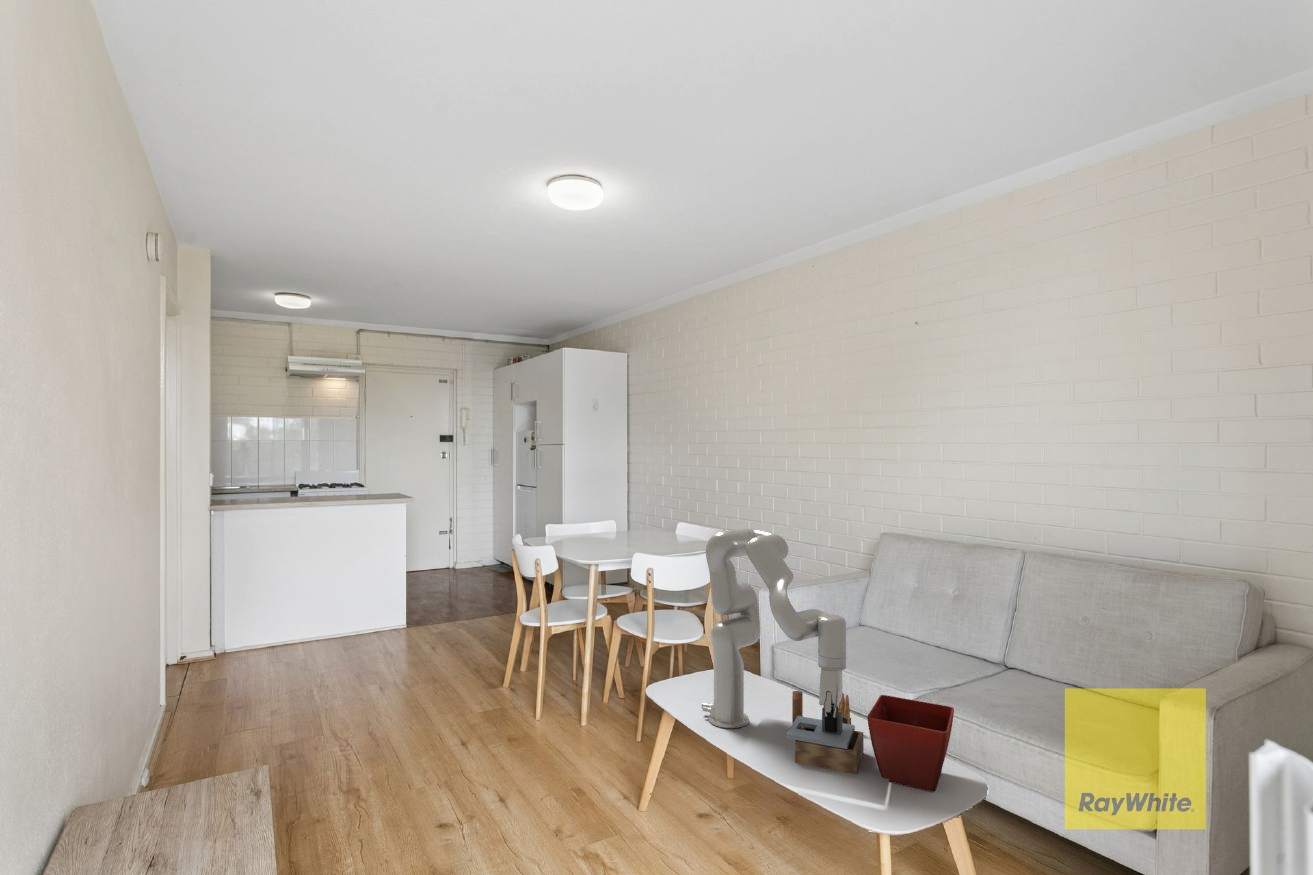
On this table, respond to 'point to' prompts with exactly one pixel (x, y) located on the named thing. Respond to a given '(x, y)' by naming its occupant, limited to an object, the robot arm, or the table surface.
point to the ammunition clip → (843, 709)
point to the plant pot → (910, 740)
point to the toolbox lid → (821, 731)
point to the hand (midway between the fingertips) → (832, 728)
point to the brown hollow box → (831, 754)
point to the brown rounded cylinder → (797, 705)
